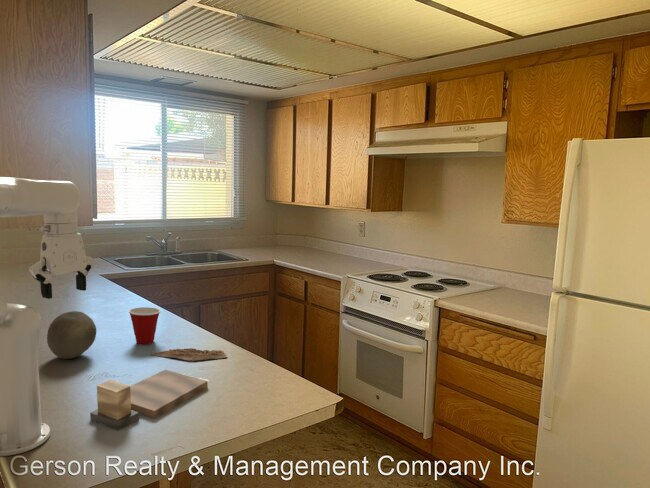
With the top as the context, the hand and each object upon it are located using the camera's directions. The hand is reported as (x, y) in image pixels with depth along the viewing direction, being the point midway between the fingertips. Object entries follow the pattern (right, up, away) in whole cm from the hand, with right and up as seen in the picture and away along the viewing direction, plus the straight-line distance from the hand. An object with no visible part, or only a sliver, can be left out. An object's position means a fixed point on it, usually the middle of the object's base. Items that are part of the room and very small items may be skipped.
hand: (64, 293), depth 127 cm
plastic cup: (+4, -22, +46) cm, 51 cm away
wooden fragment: (+23, -25, +35) cm, 48 cm away
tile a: (+32, -28, +15) cm, 45 cm away
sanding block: (+17, -30, -8) cm, 35 cm away
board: (+23, -29, +6) cm, 37 cm away
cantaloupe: (-14, -24, +30) cm, 41 cm away
